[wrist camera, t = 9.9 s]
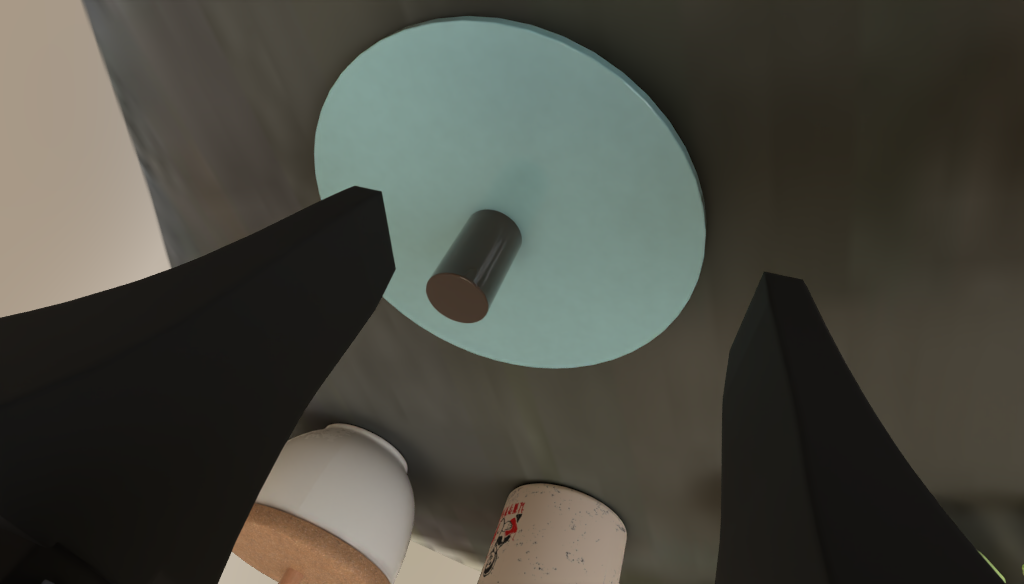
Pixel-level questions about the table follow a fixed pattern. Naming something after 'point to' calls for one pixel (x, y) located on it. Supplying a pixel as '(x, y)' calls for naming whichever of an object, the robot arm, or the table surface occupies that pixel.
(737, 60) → the table surface
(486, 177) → the pan lid
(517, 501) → the teacup with lid
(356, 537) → the lidded bowl
